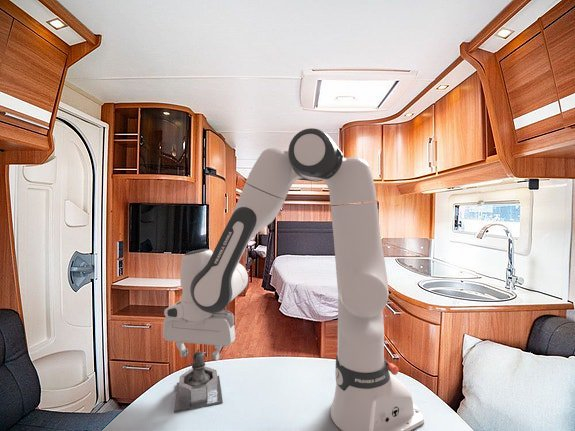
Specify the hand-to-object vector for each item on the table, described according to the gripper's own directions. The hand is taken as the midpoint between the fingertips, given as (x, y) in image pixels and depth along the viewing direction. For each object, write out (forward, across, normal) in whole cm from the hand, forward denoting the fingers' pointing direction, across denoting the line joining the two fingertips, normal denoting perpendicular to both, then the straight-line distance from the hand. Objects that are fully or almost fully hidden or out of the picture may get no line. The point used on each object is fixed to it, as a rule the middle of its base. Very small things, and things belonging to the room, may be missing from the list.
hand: (199, 357), depth 81 cm
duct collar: (+10, +1, 0) cm, 10 cm away
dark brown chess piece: (+10, 0, 0) cm, 10 cm away
